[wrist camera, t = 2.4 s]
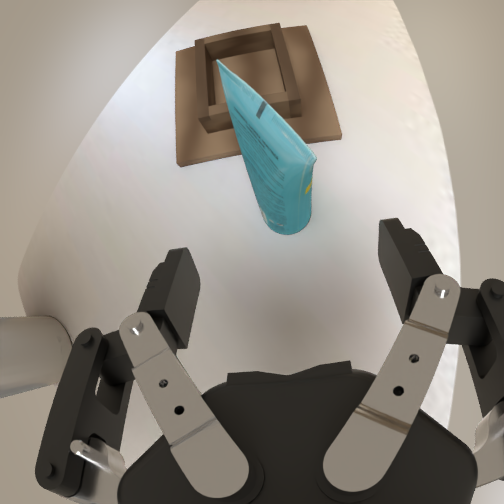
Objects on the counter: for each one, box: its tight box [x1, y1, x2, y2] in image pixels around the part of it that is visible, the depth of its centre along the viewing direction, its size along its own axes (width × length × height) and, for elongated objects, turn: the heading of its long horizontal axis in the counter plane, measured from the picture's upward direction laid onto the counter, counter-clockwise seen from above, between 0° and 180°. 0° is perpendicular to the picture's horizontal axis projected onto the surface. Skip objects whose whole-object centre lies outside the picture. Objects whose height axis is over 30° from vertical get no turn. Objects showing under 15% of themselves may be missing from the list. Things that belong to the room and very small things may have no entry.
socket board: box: [175, 23, 342, 167], centre depth 32 cm, size 18×18×5 cm
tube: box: [216, 59, 317, 235], centre depth 22 cm, size 7×5×19 cm, turn 41°
